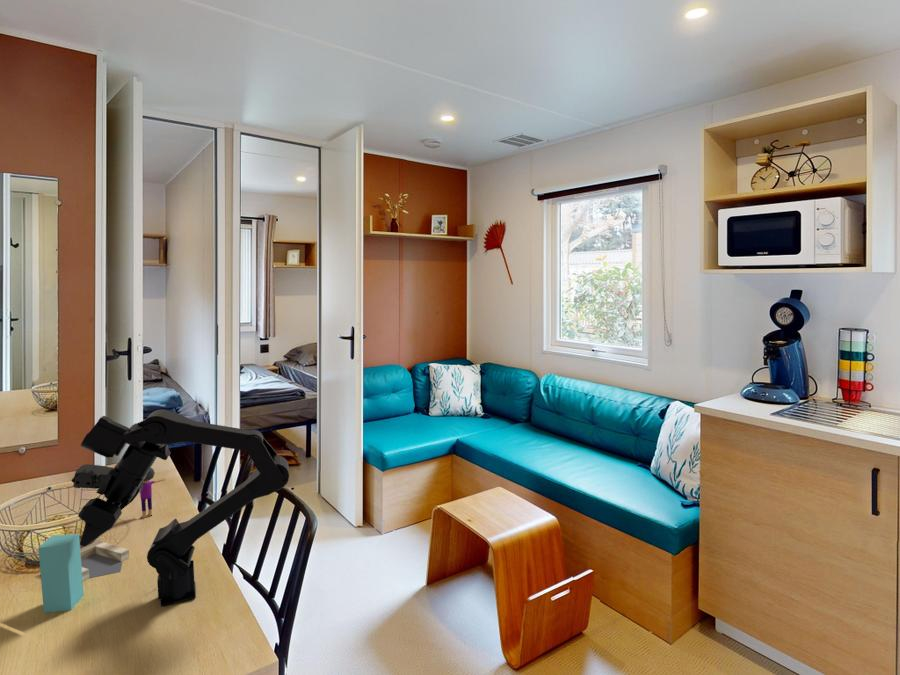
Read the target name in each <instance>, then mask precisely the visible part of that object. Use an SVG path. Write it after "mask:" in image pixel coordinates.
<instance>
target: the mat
mask: <svg viewBox="0 0 900 675" xmlns="http://www.w3.org/2000/svg"><path fill="white" fill-rule="evenodd" d="M122 565H123V561H122V562H121V561H118V560H115V559H111V558H108V557H105V556H101V555H98V554H95V555H92V556H90V557H88V558H86V559H84V560H82V561H81V566H82V567H83V568H87V569H89V578H88V579H92V578H98V577H103V576H108V575H112V574H118V573H121V570H122Z"/></svg>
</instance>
